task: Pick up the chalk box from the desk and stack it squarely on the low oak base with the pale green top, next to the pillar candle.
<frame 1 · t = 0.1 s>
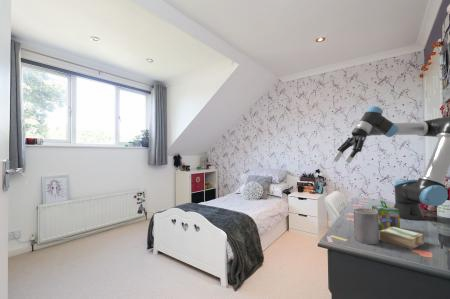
hand: (340, 161, 125), 36 cm above the table, tool tilted 35°, fingers open, 13 cm apart
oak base: (401, 241, 99), on the table
chalk box: (385, 229, 116), on the table
pillar candle: (366, 241, 101), on the table
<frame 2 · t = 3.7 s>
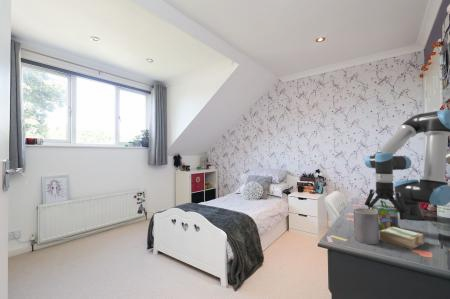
hand: (385, 222, 116), 4 cm above the table, tool pointing down, fingers closed on chalk box, 12 cm apart
chalk box: (385, 229, 116), on the table, touching gripper
everything else where it was.
when the fingers open (9 cm above the table, at t = 9.8 s): chalk box drops 1 cm, resting on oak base.
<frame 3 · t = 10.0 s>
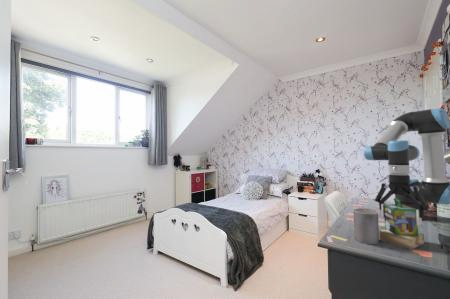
hand: (400, 221, 100), 9 cm above the table, tool pointing down, fingers open, 13 cm apart
chalk box: (400, 232, 100), point 4 cm above the table, touching gripper, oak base
everything else where it was.
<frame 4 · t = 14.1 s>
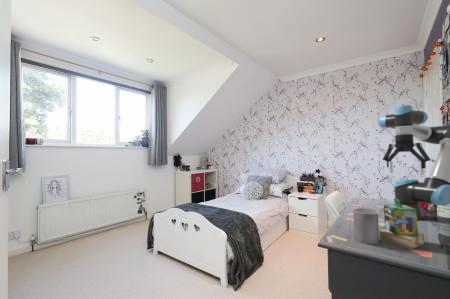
hand: (405, 174, 117), 29 cm above the table, tool pointing down, fingers open, 13 cm apart
chalk box: (400, 232, 100), point 4 cm above the table, touching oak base
everything else where it was.
at the end: chalk box inside the target area on the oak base (0.3 cm from its centre), point 4.0 cm above the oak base's base; chalk box tilted 0°; the gripper is holding nothing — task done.
